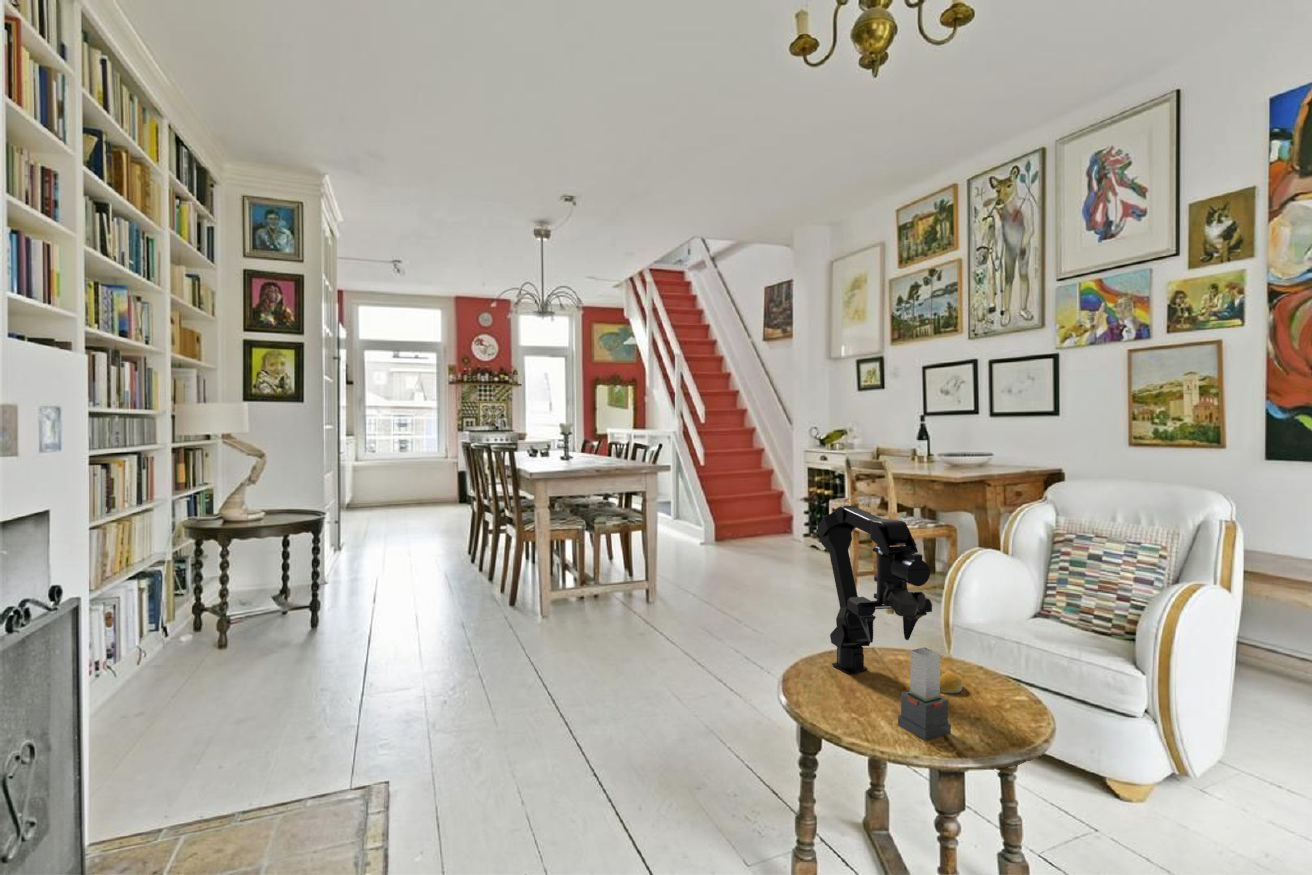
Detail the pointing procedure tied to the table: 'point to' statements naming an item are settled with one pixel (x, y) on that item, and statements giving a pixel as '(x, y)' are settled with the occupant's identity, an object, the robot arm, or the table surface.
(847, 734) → the table surface
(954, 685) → the bread roll
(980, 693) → the table surface
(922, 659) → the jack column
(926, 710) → the dark grey box
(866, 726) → the table surface
